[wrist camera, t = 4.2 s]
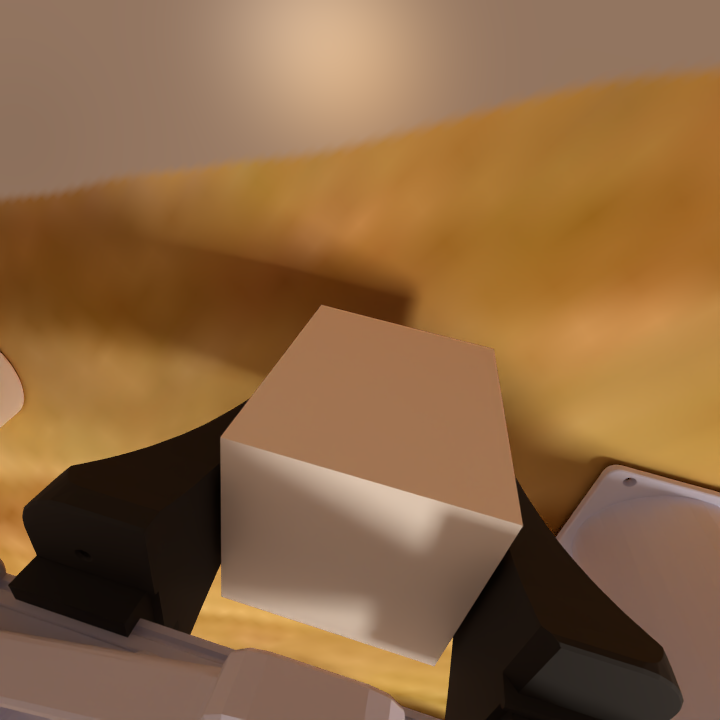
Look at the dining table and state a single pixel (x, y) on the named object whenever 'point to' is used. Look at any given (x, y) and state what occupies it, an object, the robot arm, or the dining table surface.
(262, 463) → the beige block
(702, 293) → the dining table surface
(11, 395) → the cup
